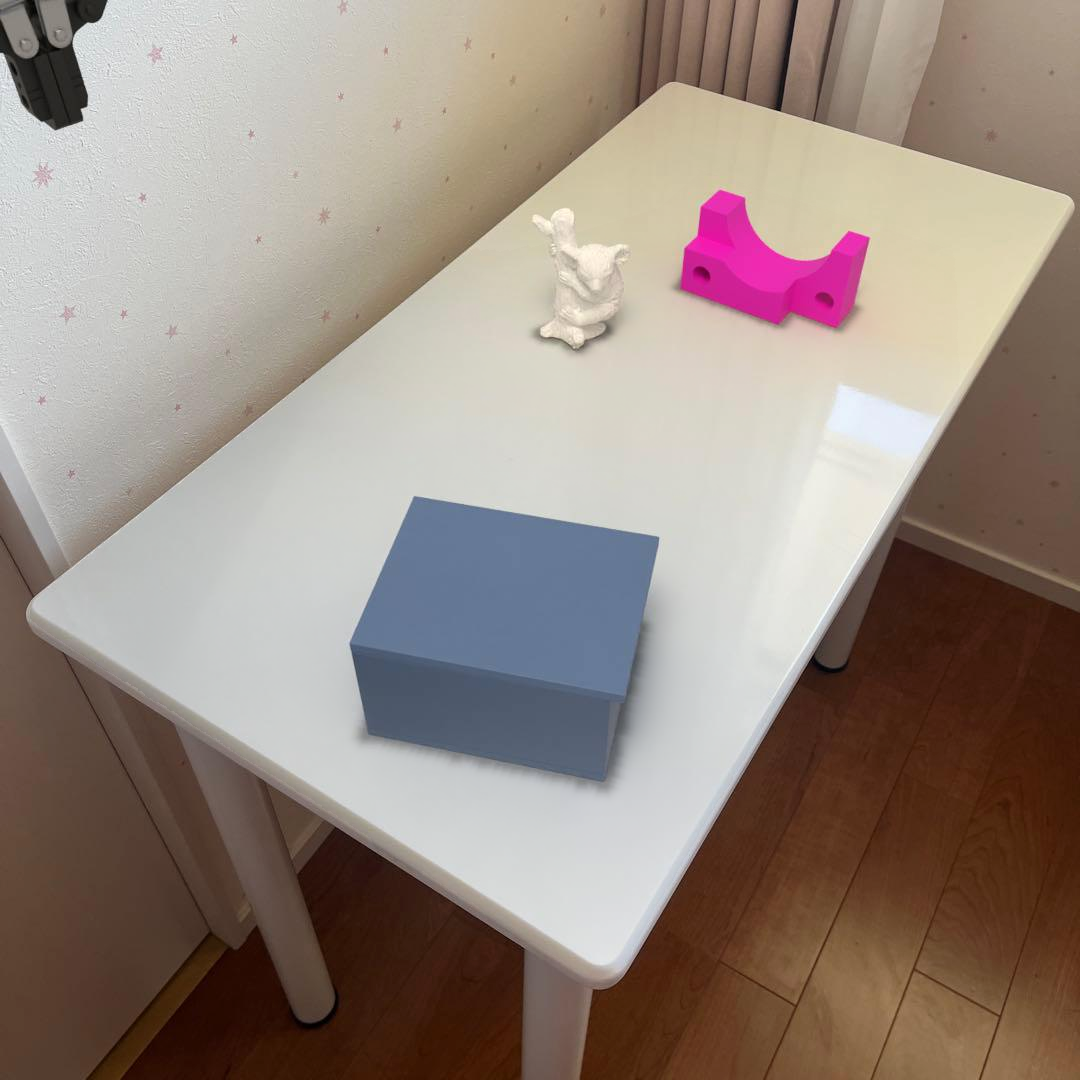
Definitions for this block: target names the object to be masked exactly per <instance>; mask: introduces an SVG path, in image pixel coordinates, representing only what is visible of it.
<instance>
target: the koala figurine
mask: <svg viewBox="0 0 1080 1080" xmlns="http://www.w3.org/2000/svg"><path fill="white" fill-rule="evenodd" d="M575 217H576V216H575V213H574V211H573V210H572V209H570V208H568V207H562V208H561V209H557V210H555V211H554V212H553V213H552V215H551V217H550V220H548V219H546V218H545V217H543V216H541V215H540V214H533V215H532V217H531V223H532V224H533V225H534V227H535V228H537V230H539V232H541V233H543V234H544V235H545V236H546V237H548V238H550V239H551V241H552V242H551V243H550V244H549V247H548V252H549V255H550V257H552V258H554V260H553V261H554V268H555V272H556V278H555V286H554V287H555V297H554V301H553V305H552V308H553V313H554V318H553V319H552V320H551V321H549V322H548V323H547V324H545V325H543V326H542V327H541V328H539V334H540V336H541V337H542V338H556V339H560V340H562V341H564V342H565V343H567V344H568V345H570V346H571V347H572V349H574V350H577V349H579V348H581V347H582V346H584V344H585V341H586V340H588V341H589V340H591V339H594V338H596V337H599V336H600V335H602V334H603V333H604V332H605V331H606V329H607V326H606V324H605V323H604V322H602V321H607V320H609V319H611V318H612V317H613V316H614V315H615V314H616V313H617V311H618V310H619V308H620V306H621V303H622V299H623V294H624V281H623V277H622V274H621V270H620V268H619V267H621V266H624V265H625V264H626V263H627V262H628V260H629V258H630V255H631V248H630V246H629V245H628V244H622V243H617V244H615V245H610V246H606V245H604V244H602V243H597V242H595V243H589V244H584V245H582V246H581V247H578V246H579V245H578V244H579V243H578V241H577V236H576V234H577V233H576V232H577V231H576V221H575V220H576V219H575Z"/></svg>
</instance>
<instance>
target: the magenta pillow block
mask: <svg viewBox="0 0 1080 1080" xmlns="http://www.w3.org/2000/svg"><path fill="white" fill-rule="evenodd" d="M746 206H747V205H746V197H745V196H742V195H738V194H736V193H733V192H730V191H726V190H723V189H718V190H717V191H715V193H714V194H712V196H711V197H709V198H708V199H707V200H706V201H705V202H704V203H703V204H702V205H701V206H700V209H699V217H698V225H697V227H698V228H697V235H696V236H695V237H694V238H692V240H691V241H690V242H689V243H688V244H687V245H685V247H684V250H683V258H682V267H681V278H680V287H679V289H680V290H682V291H685V292H688V293H689V294H692V295H695V296H698V297H701V298H704V299H706V300H709V301H712V302H715V303H717V304H721V305H723V306H726V307H729V308H732V309H734V310H736V311H740V312H742V313H745V314H748V315H751V316H752V317H753V316H754V317H757V318H759V319H761V320H765V321H768V322H770V323H773V324H775V325H780V324H781V323H782V321H783V320H784V319H786V317H787V316H788V315H789V314H790V312H791V313H794V314H797V315H799V316H802V317H805V318H808V319H810V320H813V321H816V322H819V323H822V324H824V325H827V326H830V327H832V328H836V329H837V328H839V326H840V325H841V323H843V321H844V320H845V318H846V317H847V316H848V315H849V314H850V312H851V311H852V310H853V309H854V306H855V301H856V297H857V293H858V289H859V285H860V281H861V277H862V272H863V268H864V264H865V261H866V256H867V253H868V248H869V244H870V240H871V237H870V236H867V235H864V234H861V233H857V232H855V231H851V230H848V231H847V232H846V233H845V234H844V235H843V237H841V239H839V241H838V242H837V243H836V244H835V246H833V248H832V249H831V250H830V253H829V254H827V255H825V256H823V257H819V258H816V259H810V260H805V259H804V260H801V259H800V260H799V259H795V258H790V257H788V256H785V255H782V254H780V253H778V252H777V251H775V250H774V249H772V248H771V247H769V245H767V244H766V243H765V241H764V240H762V239H761V237H760V236H759V234H758V233H757V232H756V231H755V228H754V227H753V226H752V225H753V224H752V223H751V221H750V219H749V218H750V217H749V215H748V211H747V207H746Z"/></svg>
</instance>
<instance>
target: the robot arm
mask: <svg viewBox="0 0 1080 1080" xmlns="http://www.w3.org/2000/svg"><path fill="white" fill-rule="evenodd" d="M108 1H109V0H0V54H3V56H4V58H5V61H6V64H7V67H8V70H9V73H10V75H11V78H12V81H13V83H14V86H15V89H16V92H17V96H18V98H19V101H20V103H21V105H22V106H23V107H24V109H25V110H26V111H27V112H28V113H29V114H30V115H31V116H33V117H34V118H36V119H37V120H38V121H39V122H40V123H43V122H44V123H45V124H46V125H47V126H49V127H50V128H51V130H53V131H59V130H61V129H64V128H67V127H70V126H73V125H77V124H79V123H83V122H84V115H83V111H82V109H85V108H88V105H89V93H88V91H87V87H86V85H85V81H84V77H83V76H82V75H83V74H82V71H81V68H80V65H79V61H78V58H77V55H76V51H75V48H74V39H75V35H76V34H77V32H78V31H79V30H81V28H83V27H84V26H85V25H87V24H95V23H98V22H99V21H100V20H101V19H102V18H103V15H104V13H105V9H106V7H107V4H108Z"/></svg>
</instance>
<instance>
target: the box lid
mask: <svg viewBox="0 0 1080 1080" xmlns="http://www.w3.org/2000/svg"><path fill="white" fill-rule="evenodd" d="M659 546H660V536H657V535H651V534H646V533H639V532H633V531H627V530H621V529H617V528H616V529H615V528H611V527H603V526H598V525H597V526H596V525H593V524H592V525H591V524H584V523H579V522H573V521H567V520H561V519H555V518H550V517H549V518H548V517H543V516H537V515H531V514H524V513H519V512H514V511H506V510H500V509H495V508H489V507H482V506H477V505H472V504H466V503H458V502H453V501H448V500H447V501H446V500H440V499H435V498H429V497H423V496H417V495H414V496H413V497H412V500H411V502H410V504H409V506H408V509H407V511H406V514H405V516H404V518H403V520H402V523H401V525H400V527H399V530H398V531H397V533H396V535H395V538H394V540H393V543H392V545H391V548H390V550H389V551H388V555H387V557H386V559H385V561H384V563H383V566H382V568H381V570H380V572H379V575H378V577H377V579H376V581H375V584H374V586H373V589H372V591H371V593H370V595H369V597H368V600H367V602H366V604H365V606H364V609H363V611H362V614H361V616H360V618H359V620H358V622H357V625H356V627H355V630H354V631H353V634H352V636H351V638H350V641H349V643H348V644H349V649H350V651H353V652H358V653H363V654H369V655H374V656H379V657H384V658H390V659H395V660H400V661H405V662H411V663H416V664H421V665H426V666H432V667H437V668H442V669H447V670H453V671H458V672H463V673H468V674H473V675H479V676H484V677H489V678H494V679H500V680H505V681H510V682H515V683H521V684H526V685H531V686H536V687H542V688H547V689H552V690H557V691H563V692H568V693H573V694H578V695H584V696H589V697H594V698H599V699H605V700H610V701H615V702H620V703H621V704H624V703H626V697H627V694H628V689H629V683H630V680H631V674H632V669H633V665H634V661H635V656H636V653H637V652H636V651H637V647H638V643H639V638H640V633H641V628H642V624H643V618H644V614H645V610H646V605H647V601H648V596H649V591H650V587H651V582H652V577H653V573H654V567H655V564H656V559H657V554H658V549H659Z"/></svg>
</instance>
